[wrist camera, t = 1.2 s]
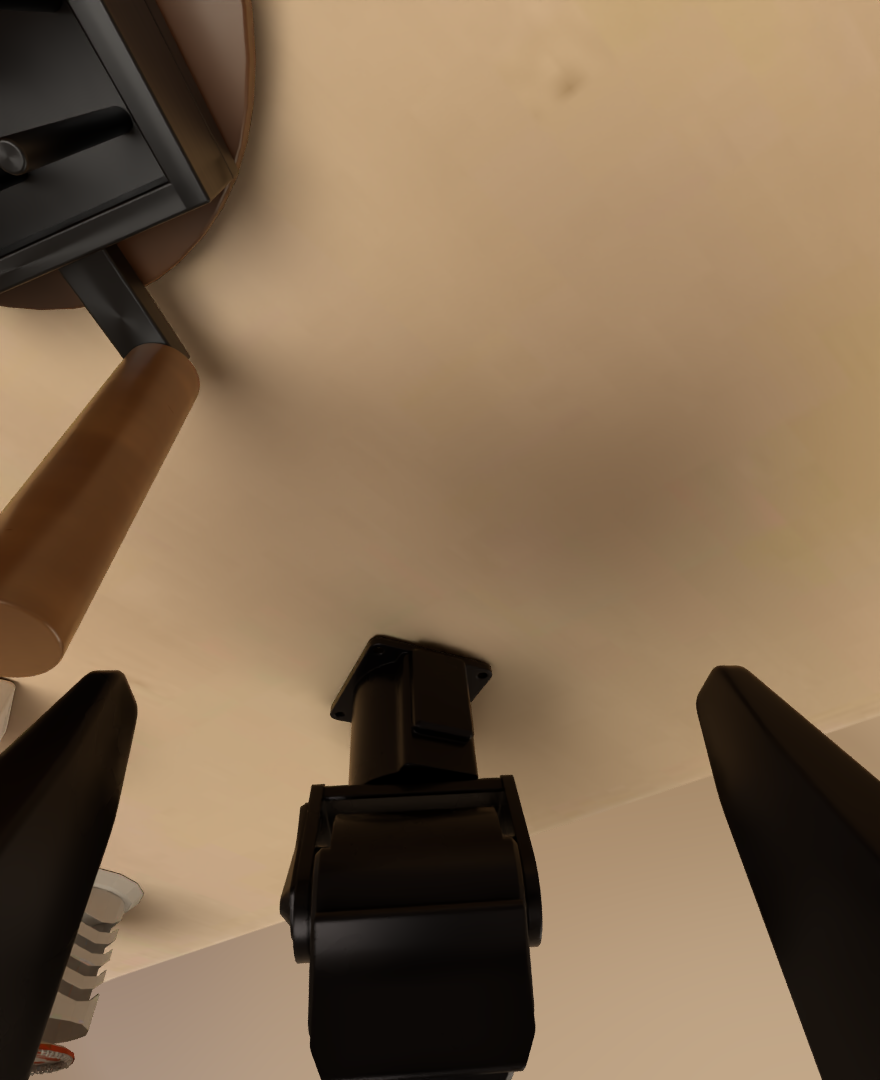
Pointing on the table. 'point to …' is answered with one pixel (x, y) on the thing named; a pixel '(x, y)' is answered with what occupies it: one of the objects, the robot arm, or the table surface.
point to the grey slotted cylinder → (85, 969)
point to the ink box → (5, 704)
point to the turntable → (228, 90)
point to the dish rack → (94, 282)
